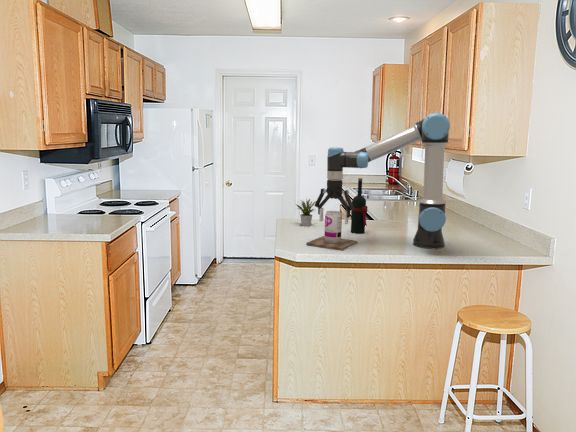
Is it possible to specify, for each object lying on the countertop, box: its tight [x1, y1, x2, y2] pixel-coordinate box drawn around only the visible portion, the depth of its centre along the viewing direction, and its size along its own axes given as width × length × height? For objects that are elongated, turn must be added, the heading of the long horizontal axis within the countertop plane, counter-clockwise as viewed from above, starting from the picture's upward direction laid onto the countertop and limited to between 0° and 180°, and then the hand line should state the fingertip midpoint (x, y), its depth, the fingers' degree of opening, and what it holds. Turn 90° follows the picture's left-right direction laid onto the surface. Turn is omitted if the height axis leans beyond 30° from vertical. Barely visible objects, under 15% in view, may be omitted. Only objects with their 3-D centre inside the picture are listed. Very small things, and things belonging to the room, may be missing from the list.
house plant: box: [294, 198, 317, 227], centre depth 299 cm, size 14×14×16 cm
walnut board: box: [306, 235, 358, 252], centre depth 255 cm, size 19×19×1 cm
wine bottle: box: [350, 177, 368, 235], centre depth 280 cm, size 8×10×30 cm
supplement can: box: [323, 210, 343, 243], centre depth 253 cm, size 8×8×15 cm
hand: (333, 222), depth 253 cm, fingers open, 13 cm apart
